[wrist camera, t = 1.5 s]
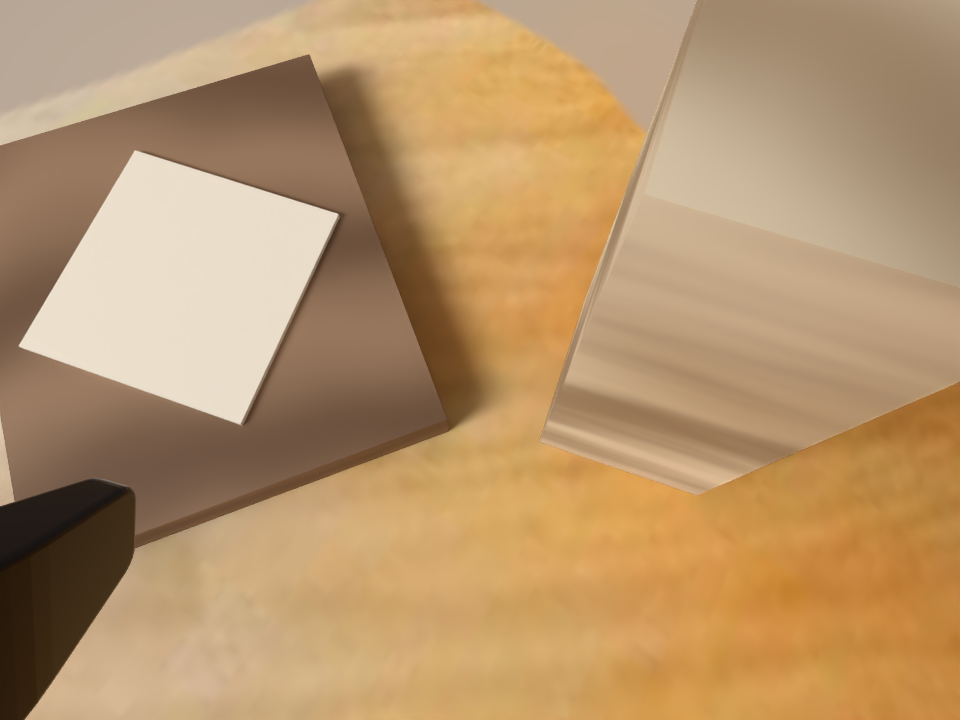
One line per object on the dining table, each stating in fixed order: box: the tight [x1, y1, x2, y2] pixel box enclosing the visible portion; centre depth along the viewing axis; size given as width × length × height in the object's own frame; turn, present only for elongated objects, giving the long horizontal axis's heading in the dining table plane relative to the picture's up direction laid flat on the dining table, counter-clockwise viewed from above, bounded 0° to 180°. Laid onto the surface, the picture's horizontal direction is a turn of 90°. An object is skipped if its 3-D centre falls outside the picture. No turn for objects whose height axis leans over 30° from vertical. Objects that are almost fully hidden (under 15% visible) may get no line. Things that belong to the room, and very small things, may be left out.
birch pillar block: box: [539, 0, 960, 495], centre depth 15 cm, size 5×5×14 cm
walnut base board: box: [0, 54, 449, 548], centre depth 22 cm, size 14×12×2 cm
